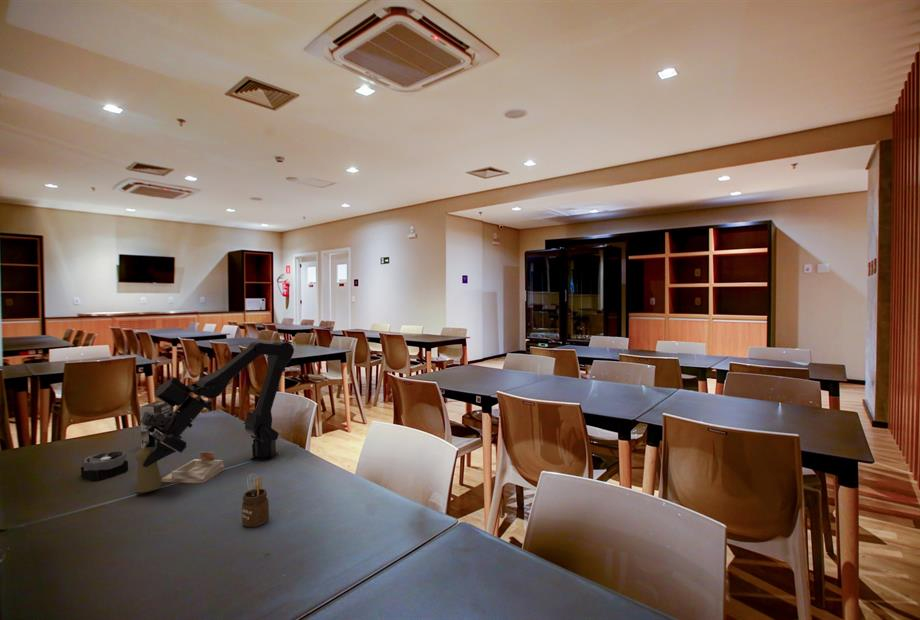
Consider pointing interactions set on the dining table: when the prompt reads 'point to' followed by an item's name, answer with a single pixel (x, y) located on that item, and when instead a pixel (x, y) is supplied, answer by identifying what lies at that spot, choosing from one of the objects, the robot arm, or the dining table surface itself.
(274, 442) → the robot arm
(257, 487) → the utensil holder
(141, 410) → the coffee box
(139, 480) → the cork
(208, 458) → the wooden box
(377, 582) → the dining table surface
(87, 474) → the cpu cooler
